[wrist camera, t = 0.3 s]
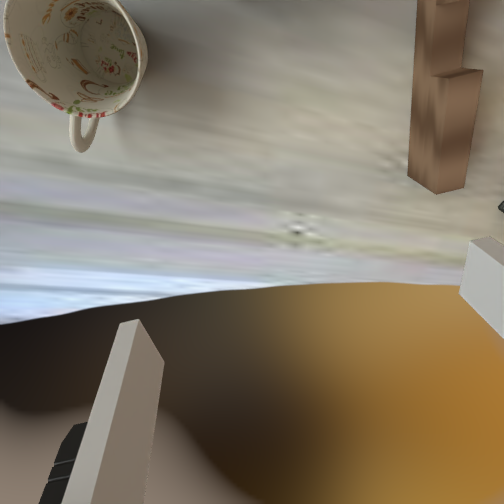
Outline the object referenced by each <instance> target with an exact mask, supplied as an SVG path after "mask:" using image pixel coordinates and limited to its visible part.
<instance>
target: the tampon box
mask: <svg viewBox="0 0 504 504" xmlns="http://www.w3.org/2000/svg"><path fill="white" fill-rule="evenodd" d="M498 209H499V210H501V211H502V212H503V213H504V201H503V202H502V203H501V204H500V205H499V206H498Z"/></svg>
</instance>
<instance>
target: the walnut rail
mask: <svg viewBox="0 0 504 504" xmlns="http://www.w3.org/2000/svg"><path fill="white" fill-rule="evenodd" d="M469 2H470V0H418V1H417V18H416V36H415V53H414V70H413V88H412V105H411V123H410V140H409V157H408V175H407V176H409V177H410V178H412V179H413V180H415V181H416V182H418V183H419V184H421V185H422V186H424V187H425V188H427V189H428V190H430V191H431V192H433V193H434V194H436V195H437V194H441V193H445V192H449V191H453V190H457V189H461V188H464V184H465V178H466V172H467V166H468V160H469V154H470V148H471V142H472V136H473V130H474V124H475V118H476V112H477V106H478V99H479V93H480V87H481V81H482V75H483V70H477V69H466V68H461V64H462V56H463V48H464V41H465V33H466V25H467V18H468V10H469Z"/></svg>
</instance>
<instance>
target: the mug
mask: <svg viewBox="0 0 504 504" xmlns="http://www.w3.org/2000/svg"><path fill="white" fill-rule="evenodd" d="M4 34H5V39H6V44H7V47H8V50H9V53H10V55H11V58H12V60H13V62H14V64H15V66H16V68H17V69H18V71H19V73H20V74H21V76H22V77H23V79H24V80H25V81H26V82H27V84H28V85H29V86H30V87H31V88H32V89H33V90H34V91H35V92H36V93H37V94H38V95H39V96H40V97H41V98H42V99H44V100H45V101H46V102H48V103H49V104H51V105H52V106H54V107H56V108H57V109H59V110H61V111H63V112H66V113H68V114H70V122H69V136H70V141H71V144H72V146H73V148H74V149H75V150H76V151H77V152H80V153H82V152H85V151H86V150H87V149H88V148H89V147H90V145H91V143H92V141H93V139H94V137H95V133H96V129H97V126H98V122H99V119H100V117H105V116H109V115H111V114H114V113H116V112H118V111H119V110H121V109H122V108H123V107H125V106H126V105H127V104H128V103H129V102H130V101H131V99H132V98H133V97H134V95H135V94H136V92H137V90H138V88H139V85H140V83H141V80H142V78H143V75H144V73H145V70H146V67H147V62H148V50H147V45H146V41H145V38H144V36H143V34H142V32H141V30H140V29H139V27H138V26H137V24H136V23H135V22H134V20H133V19H132V18H131V16H130V15H129V14H128V12H127V11H126V10H125V8H124V7H123V6H122V4H121V3H120V2H119V1H118V0H7V1H6V5H5V9H4ZM81 117H85V118H89V124H88V128H87V130H86V133H85V135H84V136H83V138H82V136H81Z"/></svg>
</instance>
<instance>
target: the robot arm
mask: <svg viewBox="0 0 504 504" xmlns="http://www.w3.org/2000/svg"><path fill="white" fill-rule="evenodd" d="M459 294H460V295H461V296H462V297H463V298H464V299H465V300H466V301H467V302H468V303H469V304H470V305H471V306H472V307H473V308H474V309H475V310H476V311H477V312H478V313H479V314H480V315H481V316H482V317H483V319H485V320H486V322H488V324H489V325H491V327H492V328H493V329H495V331H496V332H497V333H498V334H499V335H500V336H501V337H502V338H503V339H504V245H502V244H501V243H499V242H498V241H496V240H495V239H493V238H492V237H490V236H488V237H484V238H480V239H476V240H471V241H470V243H469V248H468V253H467V258H466V262H465V267H464V272H463V277H462V281H461V286H460V291H459ZM163 367H164V361H163V359H162V357H161V356H160V354H159V352H158V351H157V349H156V347H155V345H154V344H153V342H152V341H151V339H150V337H149V335H148V334H147V332H146V330H145V329H144V327H143V325H142V323H141V322H140V320H139V319H137V320H132V321H129V322H124V323H120V326H119V329H118V331H117V335H116V338H115V341H114V344H113V347H112V350H111V353H110V356H109V359H108V362H107V365H106V369H105V371H104V375H103V378H102V381H101V384H100V387H99V390H98V393H97V396H96V399H95V402H94V405H93V408H92V411H91V414H90V418H89V420H88V422H85V423H81V424H76V425H74V426H73V427H72V429H71V430H70V432H69V433H68V435H67V436H66V438H65V439H64V440H63V442H62V443H61V446H60V448H59V451H58V454H57V456H56V459H55V462H54V467H52V470H51V472H50V475H49V478H48V483H47V484H46V486H45V488H44V491H43V494H42V496H41V499H40V502H39V504H143V503H144V496H145V489H146V483H147V475H148V469H149V462H150V456H151V448H152V442H153V435H154V428H155V422H156V415H157V407H158V401H159V394H160V387H161V381H162V374H163Z"/></svg>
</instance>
